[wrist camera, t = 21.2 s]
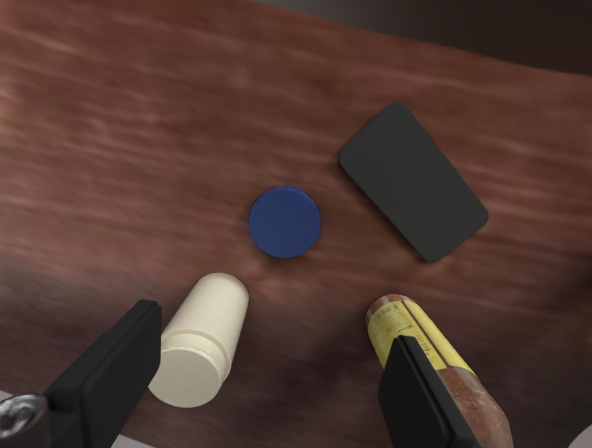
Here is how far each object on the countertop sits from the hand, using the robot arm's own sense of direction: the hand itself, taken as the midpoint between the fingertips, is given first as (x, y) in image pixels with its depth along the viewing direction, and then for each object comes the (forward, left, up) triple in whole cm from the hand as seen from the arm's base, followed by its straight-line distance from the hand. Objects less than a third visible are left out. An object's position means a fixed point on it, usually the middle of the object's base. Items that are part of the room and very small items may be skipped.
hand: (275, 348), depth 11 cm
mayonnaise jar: (-3, +11, -17) cm, 21 cm away
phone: (-4, -12, -17) cm, 21 cm away
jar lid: (0, 0, -16) cm, 16 cm away
